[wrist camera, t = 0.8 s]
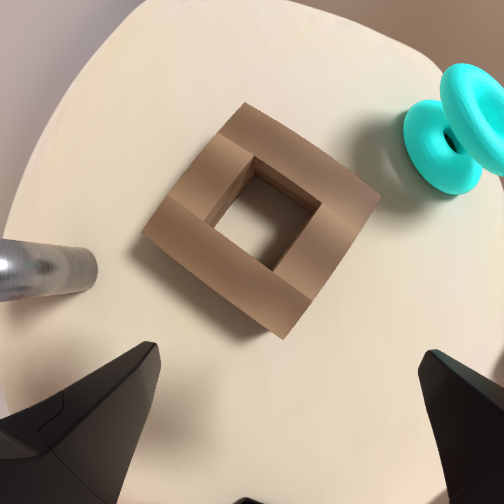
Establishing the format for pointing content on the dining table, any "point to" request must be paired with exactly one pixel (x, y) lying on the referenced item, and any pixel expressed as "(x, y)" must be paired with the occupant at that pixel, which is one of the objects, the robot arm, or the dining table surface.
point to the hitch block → (289, 183)
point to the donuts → (458, 130)
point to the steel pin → (43, 270)
